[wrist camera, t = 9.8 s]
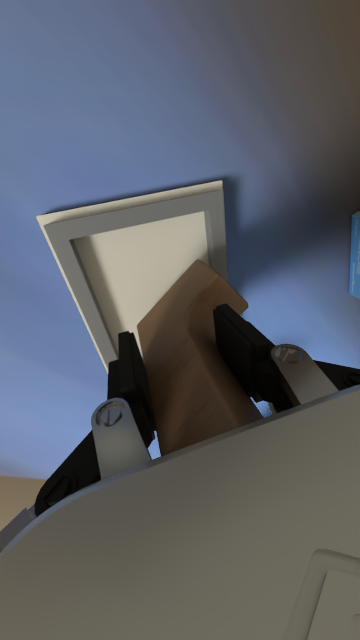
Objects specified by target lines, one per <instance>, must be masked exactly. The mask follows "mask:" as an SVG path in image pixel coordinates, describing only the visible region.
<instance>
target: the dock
mask: <svg viewBox="0 0 360 640" xmlns="http://www.w3.org/2000/svg"><path fill="white" fill-rule="evenodd" d="M36 218H37V220H38V222H39V224H40V226H41V229H42V231H43V233H44V235H45V237H46V240H47V242H48V244H49V246H50V248H51V250H52V253H53V255H54V257H55V259H56V261H57V264H58V266H59V268H60V270H61V272H62V274H63V277H64V279H65V281H66V283H67V285H68V288H69V290H70V292H71V294H72V296H73V298H74V301H75V303H76V305H77V307H78V309H79V312H80V314H81V316H82V318H83V320H84V322H85V325H86V327H87V329H88V331H89V333H90V336H91V338H92V340H93V342H94V344H95V346H96V349H97V351H98V353H99V355H100V357H101V360H102V362H103V364H104V366H105V368H106V370H107V373H108V364H109V362H110V361H114V360H117V359H119V349H118V333H122V332H125V331H129V332H130V333H132V332H134V335H135V338H136V341H137V344H138V347H139V350H140V353H141V356H142V351H141V346H140V341H139V336H138V331H137V324H138V323H139V322H140V321H141V320H142V319H143V318H144V316H145V315H146V314H147V313H148V312H149V311H150V310H151V309H152V308H153V306H154V305H155V304H156V303H157V302H158V301H159V300H160V299H161V298H162V297H163V295H164V294H165V293H166V292H167V291H168V290H169V289H170V288H171V287H172V285H173V284H174V283H175V282H176V281H177V280H178V279H179V278H180V277H181V276H182V274H183V273H184V272H185V271H186V270H187V269H188V268H189V267H190V266H191V265H192V263H193V262H194V261H195V260H197V259H199V260H201V261H202V262H204V263H205V264H207V265H208V266H210V267H211V268H212V269H214V270H215V271H217V272H218V273H220V274H221V275H222V276H223V277H224V279H225V280H226V281H227V282H228V268H227V249H226V231H225V213H224V195H223V188H222V180H221V181H215V182H210V183H205V184H200V185H195V186H190V187H185V188H179V189H174V190H169V191H164V192H159V193H154V194H148V195H143V196H138V197H133V198H128V199H123V200H117V201H112V202H107V203H102V204H97V205H92V206H86V207H81V208H76V209H71V210H66V211H61V212H55V213H50V214H45V215H40V216H36ZM142 359H143V357H142Z"/></svg>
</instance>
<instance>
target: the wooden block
mask: <svg viewBox="0 0 360 640" xmlns="http://www.w3.org/2000/svg"><path fill="white" fill-rule="evenodd" d="M225 303H226V304H228V305H229V306H230V307H231V308H232V309H233V310H234V311H235V312H236V313H237V314H239V315H241V314H242V313H243V312H244V311H245V310H246V309H247V308H248V303H247V302H246V301H245V300H244V299H243V298H242V296H241V295H240V294H239V293H238V292H237V291H236V290H235V289H234V288H233V287H232V286H231V285H230V284H229V283H228V282H227V281H226V280H225V279H224V277H223V276H222V275H221V274H220V273H218V272H217V271H215V270H214V269H212V268H211V267H210V266H208V265H207V264H205V263H204V262H202V261H201V260H199V259H197V260H195V261H194V262H193V263H192V265H191V266H190V267H189V268H188V269H187V270H186V271H185V272H184V273H183V274H182V276H181V277H180V278H179V279H178V280H177V281H176V282H175V283H174V284H173V285H172V287H171V288H170V289H169V290H168V291H167V292H166V293H165V294H164V295H163V297H162V298H161V299H160V300H159V301H158V302H157V303H156V304H155V305H154V306H153V308H152V309H151V310H150V311H149V312H148V313H147V314H146V315H145V316H144V318H143V319H142V320H141V321H140V322H139V323H138V324H137V331H138V336H139V341H140V346H141V351H142V357H143V362H144V365H145V370H146V376H147V381H148V386H149V392H150V397H151V402H152V408H153V413H154V418H155V424H156V425H155V426H156V432H157V437H158V443H159V448H160V454H161V456H164V455H167V454H169V453H172V452H175V451H177V450H180V449H183V448H185V447H188V446H191V445H193V444H196V443H198V442H201V441H204V440H206V439H209V438H212V437H215V436H217V435H220V434H223V433H225V432H228V431H231V430H233V429H236V428H239V427H242V426H244V425H247V424H250V423H252V422H255V421H258V420H261V419H263V418H264V417H263V416H262V414H261V413H260V411H259V410H258V409H257V407H256V406H255V404H254V403H253V401H252V400H251V398H250V397H248V395H247V394H246V392H245V391H244V389H243V388H242V387H241V385H240V384H239V382H238V381H237V379H236V378H235V376H234V375H233V373H232V372H231V371H230V369H229V368H228V366H227V365H226V363H225V362H224V360H223V359H222V357H221V355H220V353H219V350H218V347H217V345H216V337H215V327H214V317H213V309H216V306H218V305H222V304H225Z"/></svg>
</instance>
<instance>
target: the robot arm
mask: <svg viewBox="0 0 360 640" xmlns="http://www.w3.org/2000/svg"><path fill="white" fill-rule="evenodd" d="M213 317H214V327H215V337H216V345H217V347H218V350H219V353H220V355H221V357H222V359H223V360H224V362H225V363H226V365H227V366H228V368H229V369H230V371H231V372H232V373H233V375H234V376H235V378H236V379H237V381H238V382H239V384H240V385H241V387H242V388H243V389H244V391H245V392H246V394H247V395H248V397H252V398H253V399H254V401H255V402H256V403H257V402H260V401H263V400H264V401H266V402H268V404H269V407H270V409H271V411H272V413H273V415H271V416H269V417H266V418H263V419H261V420H258V421H255V422H252V423H250V424H247V425H244V426H242V427H239V428H236V429H233V430H231V431H228V432H225V433H223V434H220V435H217V436H215V437H212V438H209V439H206V440H204V441H201V442H198V443H196V444H193V445H191V446H188V447H185V448H183V449H180V450H177V451H175V452H172V453H169V454H167V455H164V456H161V457H159V458H156V459H153V460H152V458H151V456H150V453H149V451H148V447H149V445H150V444H151V442H152V441H153V440H154V439H155V435H154V431H156V426H155V425H156V424H155V418H154V413H153V408H152V402H151V397H150V392H149V386H148V381H147V376H146V370H145V365H144V362H143V359H142V356H141V353H140V350H139V347H138V344H137V341H136V338H135V335H134V332H132V333H130V332H129V331H125V332H122V333H118V349H119V359H117V360H114V361H110V362H109V364H108V396H107V400H106V401H105V402H103V403H102V404H100V405H99V406H98V407H97V408H96V410H95V411H94V413H93V415H92V418H91V425H92V430H91V432H90V433H89V434H88V435H87V436H86V437H85V438H84V439H83V441H82V442H81V443H80V444H79V445H78V446H77V447H76V448H75V450H74V451H73V452H72V453H71V454H70V455H69V456H68V457H67V459H66V460H65V461H64V462H63V463H62V464H61V465H60V466H59V468H58V469H57V470H56V471H55V472H54V473H53V474H52V475H51V477H50V478H49V479H48V480H47V481H46V482H45V484H44V485H43V486H42V488H41V489H40V491H39V493H38V495H37V498H36V502H35V504H34V505H33V506H32V507H31V508H30V509H27V508H25V509H23V510H22V511H21V512H20V513H19V514H18V515H17V516H16V517H15V518H14V519H13V520H12V521H11V522H10V523H9V524H8V525H7V526H6V527H5V528H3V530H1V531H0V640H360V369H356V368H351V367H346V366H341V365H336V364H331V363H326V362H321V361H316V360H312V358H311V357H310V356H309V355H308V354H307V352H306V351H304V350H303V349H302V348H300V347H298V346H295V345H291V344H281V345H277V346H275V345H274V344H273V343H272V342H271V341H270V340H268V339H267V338H266V337H265V336H264V335H263V334H262V333H261V332H260V331H259V330H257V329H256V328H255V327H254V326H253V325H252V324H251V323H250V322H248V321H245V320H244V319H243V318H242V317H241V316H240V315H239V314H237V313H236V312H235V311H234V310H233V309H232V308H231V307H230V306H229V305H228V304H226V303H225V304H222V305H218V306H216V309H213Z"/></svg>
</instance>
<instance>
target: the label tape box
mask: <svg viewBox="0 0 360 640" xmlns="http://www.w3.org/2000/svg"><path fill="white" fill-rule="evenodd" d="M349 295H351V296H354V297H356V298H358V299H360V211H358V212H356V213H354V214H353V215H352V220H351V256H350V278H349Z"/></svg>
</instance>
